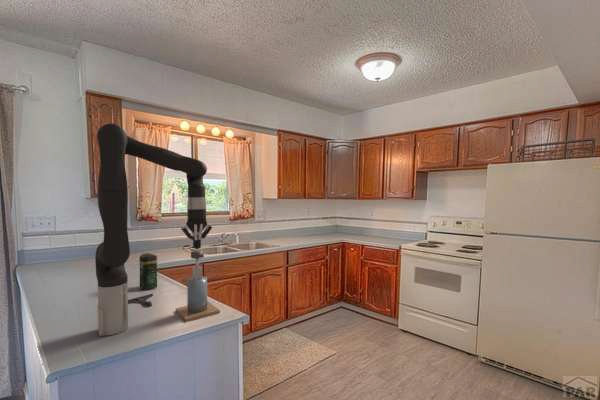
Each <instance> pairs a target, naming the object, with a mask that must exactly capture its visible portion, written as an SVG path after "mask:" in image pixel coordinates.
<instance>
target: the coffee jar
mask: <svg viewBox="0 0 600 400" xmlns="http://www.w3.org/2000/svg"><path fill="white" fill-rule="evenodd" d="M138 261H139V288H140V290H143V291H147V290H148V291H150V290H151V291H152V290H153V289H156V288H157V287H158V256H157V255H155V254H152V253H150V252H149V253H142V254H141V255H139V260H138Z"/></svg>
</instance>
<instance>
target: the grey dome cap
mask: <svg viewBox="0 0 600 400" xmlns="http://www.w3.org/2000/svg"><path fill="white" fill-rule="evenodd" d="M204 255H205V254H204V250H192V251H190V258H191V259H195V267H196V268H199V266H200V261H199V260H200V259H201V258H204Z"/></svg>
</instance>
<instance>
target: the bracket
mask: <svg viewBox="0 0 600 400" xmlns="http://www.w3.org/2000/svg"><path fill="white" fill-rule="evenodd" d="M153 296H154V295H153V293H149V294H146V295H141V296H138V297H133V298H131V299H128V305H129V304H140V305H143V306H146V307H148V308H150V307H152V305H153V304H152V301H151V300H150V301H147V300H148V299H150V298H153Z"/></svg>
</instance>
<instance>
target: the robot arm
mask: <svg viewBox="0 0 600 400" xmlns="http://www.w3.org/2000/svg"><path fill="white" fill-rule="evenodd" d="M96 138H97V143H98V149H99V150H98V151H99V159H100V164H99V172H98V181H97V206H98V211H99V215H100V219H101V222H102V226H103V241H102V242H100V244H98V246H96V247H97V248H96V250H95V254H94V255H95V276H96V280H97V306H96V307H97V309H96V310H97V333H98V337H104V336H113V335H117V334H119V333H122V332H124V331H126V330H127V329H128V328H129V304H128V300H129V299H128V298H129V297H128V296H129V295H128V294H129V290H128V287H129V285H128V284H129V283H128V273H127V272H126V268H125V264H126V263H127V261H128V260H129V257H130V256H131V255H130V254H131V248H130V242H129V233H128V216H129V215H128V213H129V212H128V211H129V209H128V204H129V190H128V180H127V179H128V178H127V177H128V176H127V171H126V164H125V160H126V155H128V156H132V157H136V158H138V159H142V160H144V161H147V162H150V163H152V164H155V165H158V166H161V167H164V168H166V169H169V170H172V171H176V172H182V173H185V175H186V182H187V204H186V207H187V212H186V213H187V217H186V218H187V219H186V220H187V221H186V224H185V225H184V226H183V227H181V228H180V230H181V231H182V232H183V233H184V234H185V236H186V237H187V238H188V239H190V240H192V247H193V248H194V250H199V249H200V248H202V247H201V246H202V239H205V238H206V237H208V235H209V233H210V231H211V230H212V228H213V226H211V225H209V224H208V222H207V201H206V186H205V184H204V176H205V175H207V171H208V168H207V165H206V163H204V162H203V161H202V160H200V159H196V158H193V157H189V156H186V155H185V156H184V155H182V154H180V153H179V152H178V153H177V152H175V151H172V150H169V149H167V148H164V147H160V146H155V145H153V144H148V143H145V142H141V141H140V140H138V139H134V138H133V137H132V136H129V135H127V133H126V131H125V130H124V129H123V128H122V127H121V126H120V125H118V124H115V123H106V124H104V125H102V126H101V127H100V128H99V129H98V130H97V134H96ZM189 230H190V232H189Z"/></svg>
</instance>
